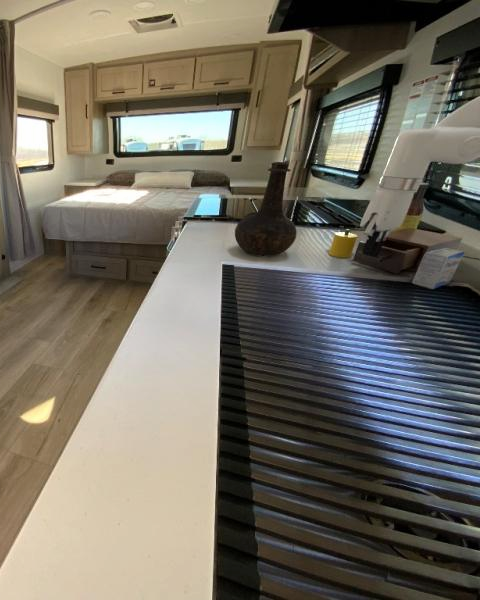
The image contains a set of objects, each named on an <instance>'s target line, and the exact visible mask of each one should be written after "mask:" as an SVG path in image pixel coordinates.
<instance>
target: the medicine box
mask: <svg viewBox="0 0 480 600" xmlns="http://www.w3.org/2000/svg"><path fill="white" fill-rule="evenodd" d="M465 254H466V253H465V251H464V250H460V249H457V250H455V249H449V248H440V249H437V250H433V251H430V252H426V253H425V254H424V257H423V259H422V261H421V263H420V266H419V268H418V270H417V272H415V275H414V277H413V279H412V283H411V284H413V285H415V286H419V287H423V288H426V289H430V290H436V289H437V288H440V287H442V286H446V285H448V284H450V283H451V281H452V279H453V277H454V275H455V273H456V271H457V269H458V267H459V265H460V263H461V261H462V259H463V258H464V255H465Z"/></svg>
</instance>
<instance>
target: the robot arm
mask: <svg viewBox="0 0 480 600" xmlns="http://www.w3.org/2000/svg"><path fill="white" fill-rule="evenodd" d="M479 158H480V95H479V96H477V97H475V98H474V99H471V100H470V101H468V102H466V103H464V104H463V105H462V106H460V107H458V108H457V109H455V110H454V111H451V113H449V114H448V115H447V116H446V117H444V118H443V119H442V120H440V121H439V122H438V123H436V124H435V125H433V126H432V127H431V128H407V129H404V130H402V131H401V132H400V133H399V134H398V135H397V138H396V140H395V143H394V145H393V148H392V151H391V153H390V156H389V158H388V161H387V163H386V166H385V168H384V171H383V174H382V176H381V178H380V181H379V184H378V186H377V189H376V191H375V193H374V194H373V195H372V198H370V201H369V203H368V205H367V206H366V207H367V208H366V210H365V211H364V214H363V216H362V219H361V220H360V222H359V223H360V224H359V227H360V228H361V229H365V230H364V232H363V235H366V241H365V242H366V243H365V246H364V248H363V251H362V253H364V254H367V255H371V256H376V255H378V254H379V252H380V250H381V248H382V245H383V243H384V241H385V240H386V238H387V236H388V235H389V233H390V232H392V231H394V229H395V228H398V227H400V226H401V224H402V223H403V221H404V219H405V216H406V214H407V212H408V209H409V207H410V204H411V201H412V198H413V195H414V192H417V190H418V188H419V186H420V183H422V181H423V180H424V176H425V174H426V172H427V170H428V168H429V166H430V163H431V162H435V163H436V162H437V163H442V164H443V163H444V164H449V165H461V164H467V163H469V162H472V161H475V160H477V159H479Z"/></svg>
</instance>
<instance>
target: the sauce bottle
mask: <svg viewBox="0 0 480 600" xmlns="http://www.w3.org/2000/svg"><path fill="white" fill-rule="evenodd" d="M428 188H429V183H426V182H421V183H420V186H419V188H418V190H417V192H414V195H413V198H412V201H411V204H410V207H409V209H408V212H407V214H406V216H405V219H404V221H403V223H402V224H401V226H400V227H398V228H395V229H394V231H396V230H401V229H406V228H413V229H418V227H419V224H420V221H421V219H422V216H423V213H424V196H425V193H426V190H427V189H428Z"/></svg>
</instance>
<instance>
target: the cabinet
mask: <svg viewBox="0 0 480 600" xmlns="http://www.w3.org/2000/svg"><path fill="white" fill-rule="evenodd" d="M386 239H387V240H391V241H395V242H400V243H404V244H409V245H413V246H417V247H422V248H424V249H423V251H422V253H421V256H420V258H419V260H418V262H417V264H416V266H414V267H410V268H406V269H405V270H407V271H411V272H414V273H416V272H417V270H418V268H419V266H420V263H421V261H422V259H423V257H424V254H425V253H426V252H430V251H433V250H437V249H440V248H449V249H455V250H458V248H459V246H460V244H461V242H462V240H463V237H460V236H455V235H449V234H444V233H440V232H439V233H438V232H434V231H429V230H422V229H418V228H417V229H413V228H406V229H401V230H396V231H392V232H390V233H389V235H388V236H387V238H386Z"/></svg>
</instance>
